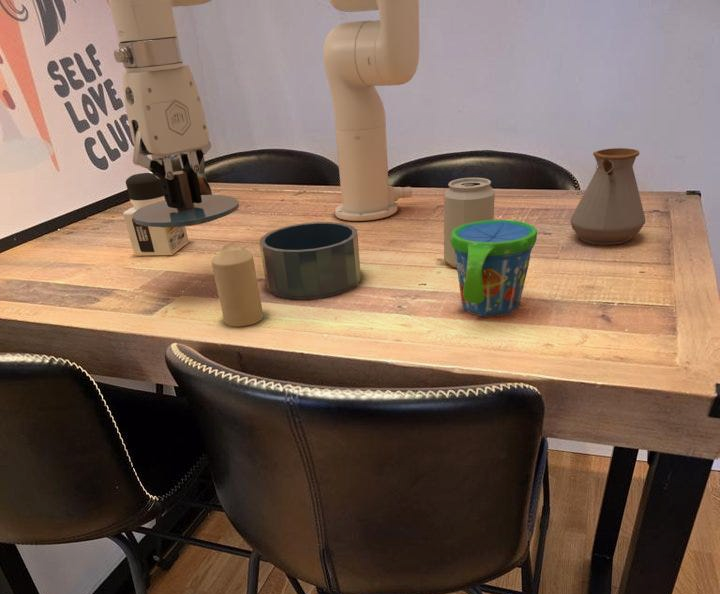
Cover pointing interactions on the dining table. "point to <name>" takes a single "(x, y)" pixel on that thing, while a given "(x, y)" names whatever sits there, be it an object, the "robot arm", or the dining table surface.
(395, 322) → the dining table surface
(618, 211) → the coffee pot
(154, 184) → the container
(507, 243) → the snack cup
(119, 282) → the dining table surface
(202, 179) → the grey lumpy figure
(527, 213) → the dining table surface
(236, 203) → the lid
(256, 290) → the candle
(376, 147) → the robot arm
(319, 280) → the bowl
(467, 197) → the can
